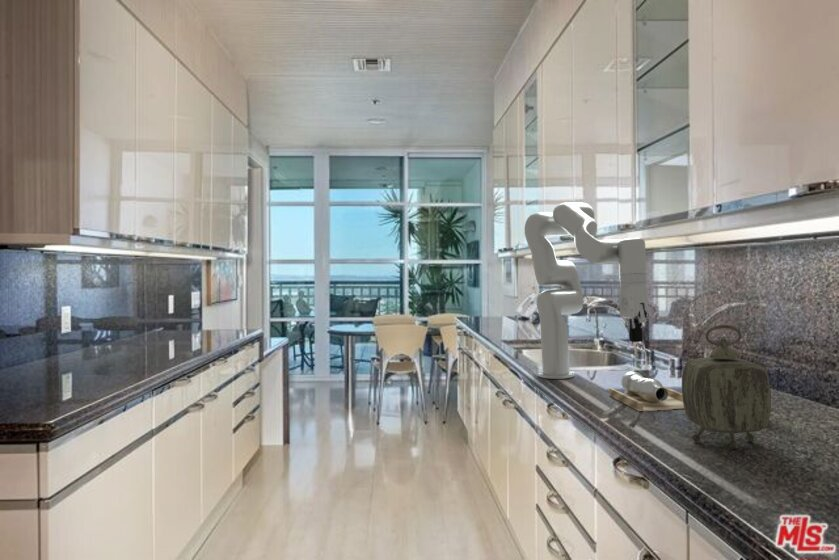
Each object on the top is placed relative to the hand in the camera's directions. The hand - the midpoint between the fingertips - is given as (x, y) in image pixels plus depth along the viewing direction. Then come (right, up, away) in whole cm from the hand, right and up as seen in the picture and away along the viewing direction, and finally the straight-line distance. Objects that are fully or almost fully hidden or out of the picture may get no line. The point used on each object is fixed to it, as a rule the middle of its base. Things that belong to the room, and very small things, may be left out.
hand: (636, 341), depth 158 cm
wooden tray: (+1, -16, -8) cm, 18 cm away
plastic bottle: (0, -13, +4) cm, 13 cm away
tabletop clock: (0, -16, -48) cm, 51 cm away
